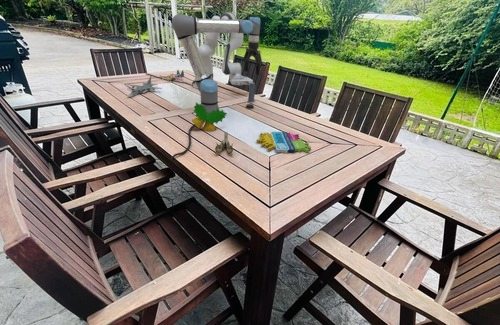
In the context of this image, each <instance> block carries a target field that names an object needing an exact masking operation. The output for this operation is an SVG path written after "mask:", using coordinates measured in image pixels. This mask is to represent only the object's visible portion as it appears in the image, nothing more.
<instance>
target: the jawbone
mask: <svg viewBox="0 0 500 325" xmlns="http://www.w3.org/2000/svg"><path fill="white" fill-rule="evenodd" d="M223 135H224V136H223V140H222V139H221V142H220V144H218V142H215V144H216V146H215V148H214V149H215V152H214V154H215V155H217V156H218V155H220V153H221V152H223V151H224V150H226V152H227V153H228V155H229V156H233V155H234V154H233V153H234V148H233V144H234V143H230V140H228V139H229V138H228V137H229V136H228V135H229V133H228V131H226V132H224V134H223Z"/></svg>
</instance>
